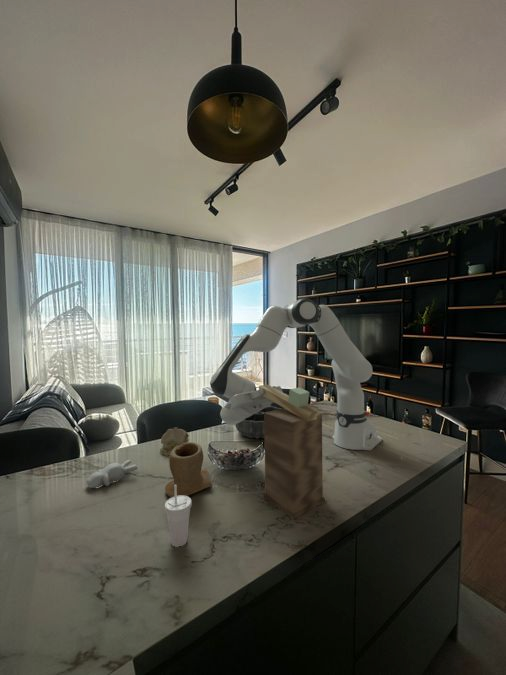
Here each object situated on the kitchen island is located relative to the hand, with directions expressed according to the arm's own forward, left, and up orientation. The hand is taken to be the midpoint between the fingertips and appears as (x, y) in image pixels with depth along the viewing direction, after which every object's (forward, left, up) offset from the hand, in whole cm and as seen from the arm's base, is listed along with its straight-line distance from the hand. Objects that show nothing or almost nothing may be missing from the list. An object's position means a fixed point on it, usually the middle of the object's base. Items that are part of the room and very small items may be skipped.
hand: (269, 389), depth 95 cm
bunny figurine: (+40, -36, -32) cm, 63 cm away
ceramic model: (+13, -46, -32) cm, 57 cm away
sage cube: (0, +13, -2) cm, 13 cm away
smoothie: (+34, +6, -32) cm, 47 cm away
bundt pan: (-27, -39, -32) cm, 57 cm away
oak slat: (0, +7, -4) cm, 8 cm away
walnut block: (0, +11, -31) cm, 33 cm away
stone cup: (+22, -13, -32) cm, 41 cm away
